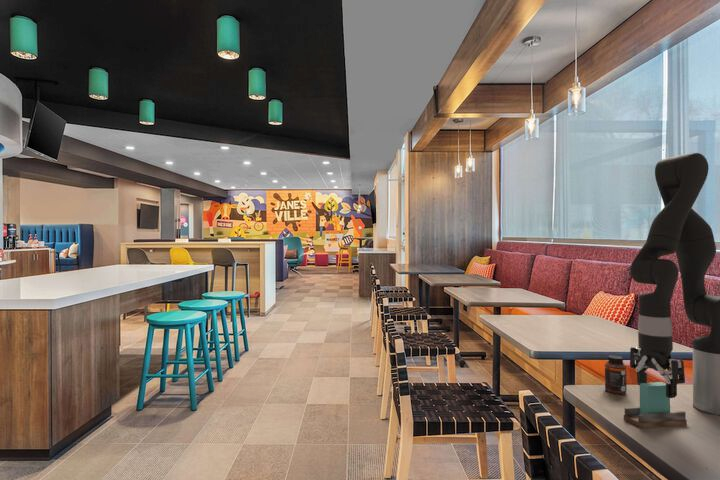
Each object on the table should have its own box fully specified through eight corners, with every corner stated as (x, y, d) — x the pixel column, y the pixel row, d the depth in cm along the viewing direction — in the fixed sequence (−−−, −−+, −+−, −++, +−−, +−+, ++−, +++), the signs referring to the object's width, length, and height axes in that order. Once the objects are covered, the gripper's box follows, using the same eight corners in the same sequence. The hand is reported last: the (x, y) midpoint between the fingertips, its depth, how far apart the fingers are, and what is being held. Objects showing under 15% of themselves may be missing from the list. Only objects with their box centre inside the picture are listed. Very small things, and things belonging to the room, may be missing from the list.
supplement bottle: (630, 395, 126) (629, 360, 126) (609, 394, 127) (609, 358, 127) (621, 388, 132) (621, 354, 132) (602, 387, 133) (601, 353, 133)
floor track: (667, 415, 112) (667, 404, 112) (686, 424, 106) (686, 412, 106) (623, 419, 109) (623, 407, 109) (641, 428, 104) (641, 416, 104)
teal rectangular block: (661, 414, 109) (661, 381, 109) (669, 418, 107) (669, 385, 107) (639, 416, 108) (639, 383, 108) (647, 420, 106) (647, 386, 106)
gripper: (692, 337, 101) (693, 400, 101) (643, 325, 115) (645, 381, 115) (667, 339, 100) (668, 403, 100) (621, 327, 114) (622, 383, 114)
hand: (656, 391), depth 108 cm, fingers open, 8 cm apart
